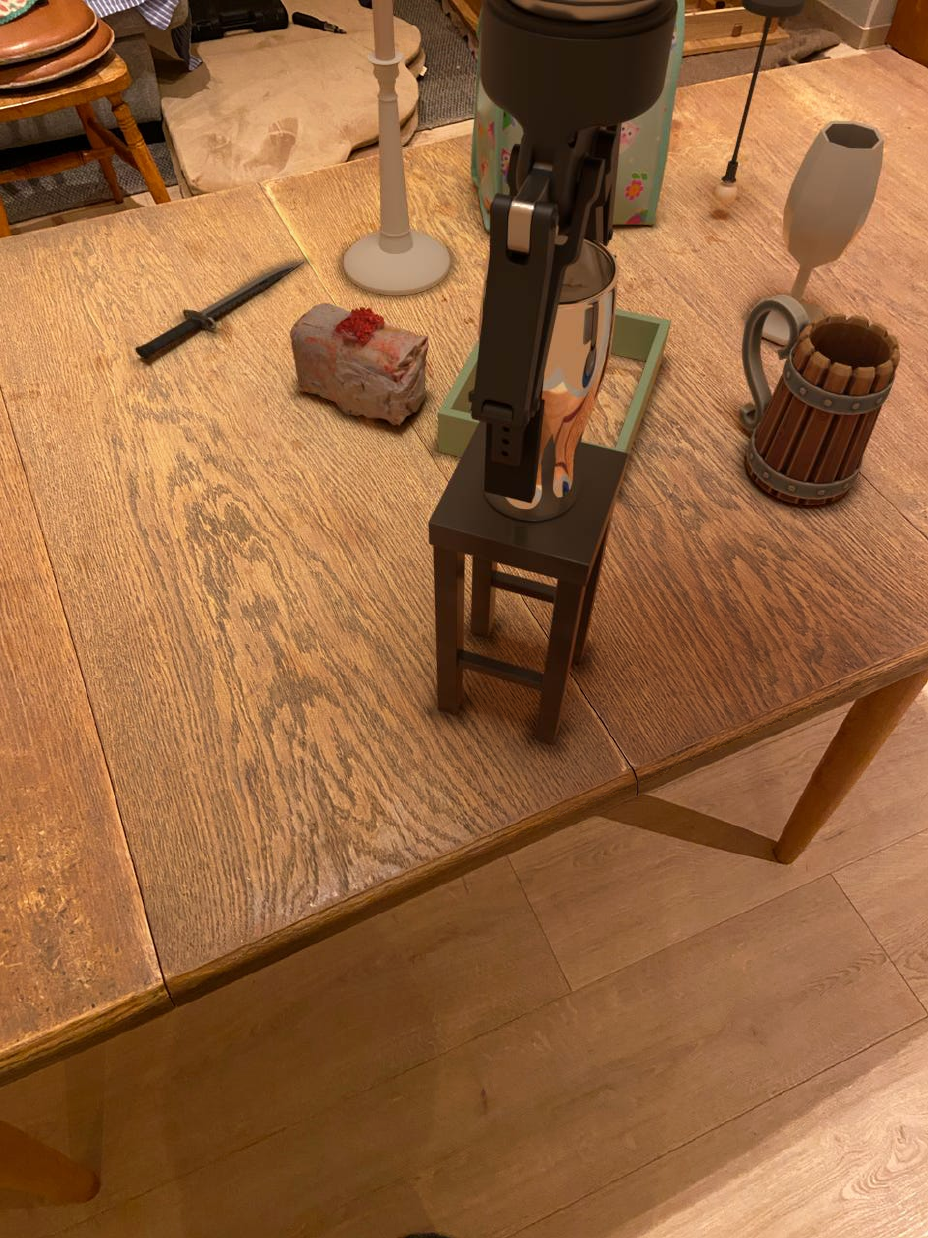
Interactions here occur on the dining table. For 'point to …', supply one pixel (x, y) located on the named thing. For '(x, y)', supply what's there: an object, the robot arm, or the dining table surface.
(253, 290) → the knife
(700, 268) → the dining table surface
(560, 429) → the beer glass
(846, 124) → the wineglass
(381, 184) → the candlestick
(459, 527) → the stool
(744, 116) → the light fixture
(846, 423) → the mug
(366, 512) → the dining table surface
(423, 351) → the food item
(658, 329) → the green rectangular open frame
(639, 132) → the lunch bag
